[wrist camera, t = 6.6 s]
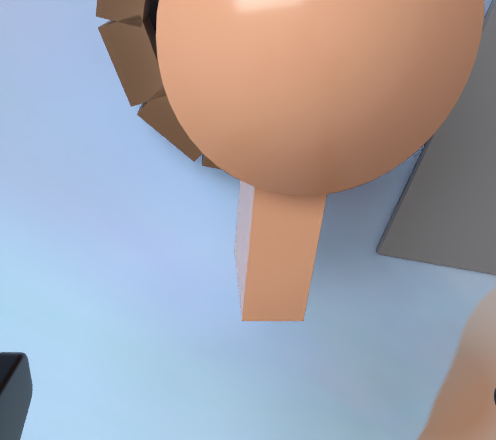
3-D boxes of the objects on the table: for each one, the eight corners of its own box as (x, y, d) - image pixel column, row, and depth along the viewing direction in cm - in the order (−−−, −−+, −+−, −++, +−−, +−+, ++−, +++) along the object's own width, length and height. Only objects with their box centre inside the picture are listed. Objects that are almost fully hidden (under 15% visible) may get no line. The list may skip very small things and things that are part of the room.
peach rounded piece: (179, -108, 15) (150, -188, 7) (373, -87, 16) (538, -140, 8) (178, 202, 21) (162, 344, 13) (320, 206, 21) (385, 343, 14)
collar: (131, -254, 13) (120, -287, 11) (477, -124, 15) (511, -135, 14) (96, 125, 19) (85, 142, 17) (355, 179, 21) (368, 198, 19)
